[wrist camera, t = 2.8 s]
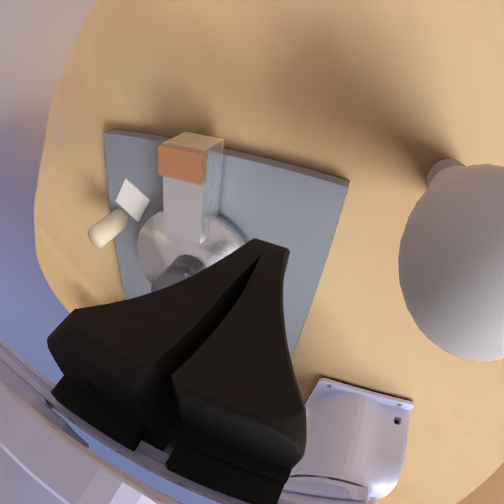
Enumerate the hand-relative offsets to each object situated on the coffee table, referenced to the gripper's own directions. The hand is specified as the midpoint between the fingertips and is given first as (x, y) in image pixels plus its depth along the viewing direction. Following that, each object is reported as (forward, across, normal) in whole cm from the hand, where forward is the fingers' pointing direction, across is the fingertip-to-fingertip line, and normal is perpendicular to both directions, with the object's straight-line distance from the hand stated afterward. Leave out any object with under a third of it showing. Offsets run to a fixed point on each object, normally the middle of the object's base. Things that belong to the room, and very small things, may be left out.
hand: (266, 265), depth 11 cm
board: (+8, +6, +7) cm, 12 cm away
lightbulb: (+8, -7, -3) cm, 11 cm away
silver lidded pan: (+6, +6, +5) cm, 10 cm away
